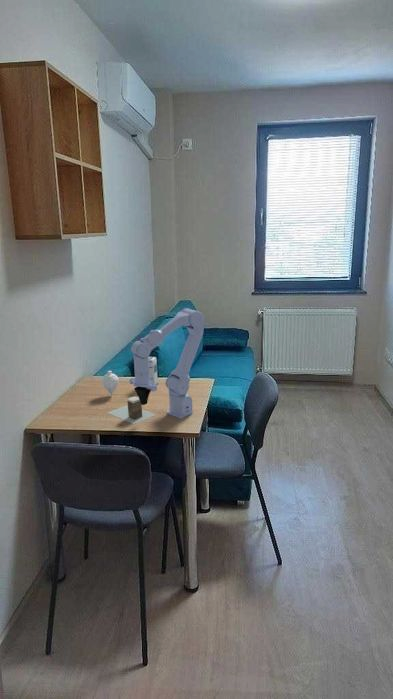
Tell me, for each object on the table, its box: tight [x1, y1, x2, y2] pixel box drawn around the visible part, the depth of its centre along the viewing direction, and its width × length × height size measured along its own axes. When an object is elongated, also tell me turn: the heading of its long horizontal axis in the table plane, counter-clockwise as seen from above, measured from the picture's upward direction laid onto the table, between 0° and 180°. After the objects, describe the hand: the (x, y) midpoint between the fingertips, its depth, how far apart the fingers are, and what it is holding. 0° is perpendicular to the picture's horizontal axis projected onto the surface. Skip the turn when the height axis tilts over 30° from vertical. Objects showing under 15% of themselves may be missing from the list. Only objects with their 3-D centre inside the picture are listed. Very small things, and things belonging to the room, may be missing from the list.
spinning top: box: [101, 370, 120, 396], centre depth 212 cm, size 8×8×12 cm
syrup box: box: [148, 356, 159, 387], centre depth 222 cm, size 6×6×14 cm
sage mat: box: [106, 404, 157, 425], centre depth 191 cm, size 18×12×1 cm, turn 46°
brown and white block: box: [127, 396, 143, 420], centre depth 186 cm, size 4×4×8 cm
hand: (144, 404), depth 181 cm, fingers closed
